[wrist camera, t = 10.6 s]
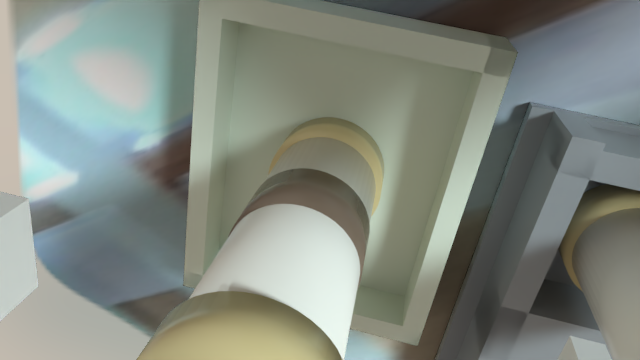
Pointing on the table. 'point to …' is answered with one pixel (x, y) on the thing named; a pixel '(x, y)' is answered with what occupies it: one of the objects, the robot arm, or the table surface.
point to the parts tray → (357, 107)
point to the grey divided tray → (538, 239)
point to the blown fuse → (286, 257)
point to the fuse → (608, 263)
